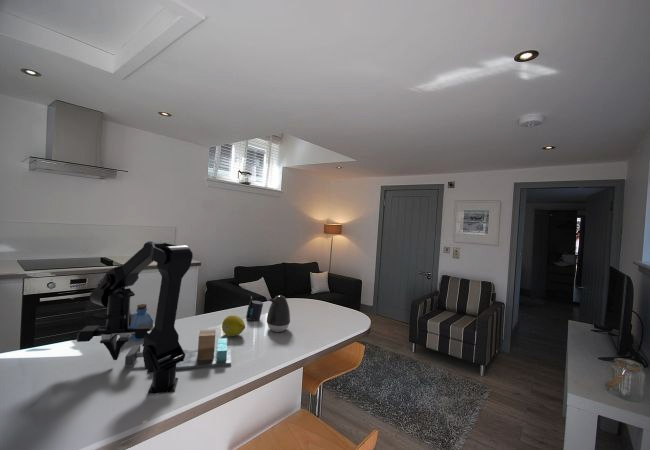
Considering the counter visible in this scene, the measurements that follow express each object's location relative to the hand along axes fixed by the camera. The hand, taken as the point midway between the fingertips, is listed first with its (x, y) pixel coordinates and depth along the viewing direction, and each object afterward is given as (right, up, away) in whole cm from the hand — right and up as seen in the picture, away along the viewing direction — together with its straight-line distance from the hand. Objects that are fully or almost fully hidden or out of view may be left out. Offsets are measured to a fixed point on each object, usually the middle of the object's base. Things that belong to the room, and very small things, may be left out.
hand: (115, 359), depth 92 cm
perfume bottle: (-6, -1, +22) cm, 23 cm away
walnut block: (+25, -3, +8) cm, 26 cm away
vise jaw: (+9, -1, +3) cm, 9 cm away
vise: (+21, -3, +7) cm, 22 cm away
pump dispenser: (+44, -5, +39) cm, 59 cm away
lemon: (+27, -4, +29) cm, 40 cm away
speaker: (+31, -4, +50) cm, 59 cm away
